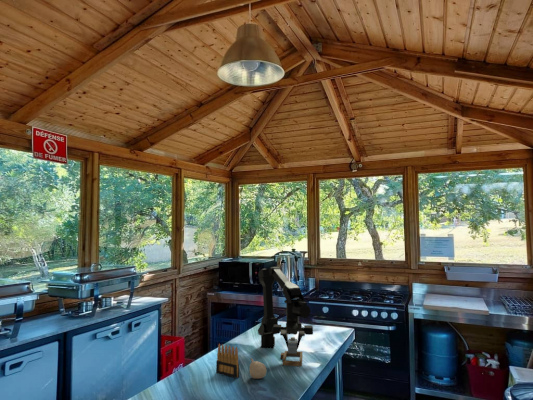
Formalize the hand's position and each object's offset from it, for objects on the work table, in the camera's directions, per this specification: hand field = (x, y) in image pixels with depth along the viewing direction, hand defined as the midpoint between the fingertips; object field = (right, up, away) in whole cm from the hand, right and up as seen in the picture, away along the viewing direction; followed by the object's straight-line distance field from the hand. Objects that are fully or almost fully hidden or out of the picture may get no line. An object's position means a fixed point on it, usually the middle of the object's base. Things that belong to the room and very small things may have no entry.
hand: (292, 348), depth 171 cm
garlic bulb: (-16, -4, -22) cm, 27 cm away
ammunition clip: (-28, -4, -18) cm, 34 cm away
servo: (0, -1, 0) cm, 1 cm away
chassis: (0, -5, -1) cm, 5 cm away
